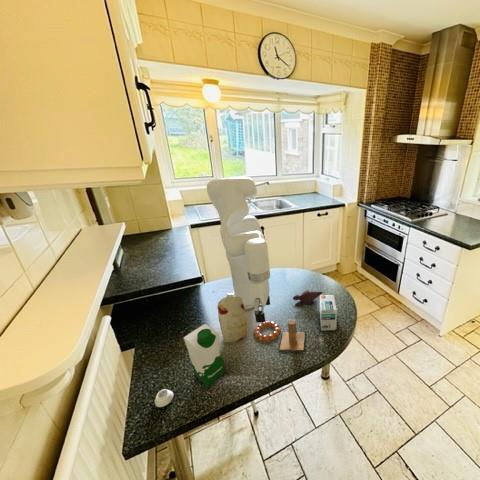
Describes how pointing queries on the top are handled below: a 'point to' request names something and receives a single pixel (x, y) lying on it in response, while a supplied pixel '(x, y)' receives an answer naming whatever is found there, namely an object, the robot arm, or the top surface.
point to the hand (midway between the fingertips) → (263, 312)
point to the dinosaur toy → (306, 297)
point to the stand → (292, 338)
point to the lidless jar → (163, 397)
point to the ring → (269, 337)
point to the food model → (232, 318)
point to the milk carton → (205, 354)
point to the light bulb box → (328, 312)
